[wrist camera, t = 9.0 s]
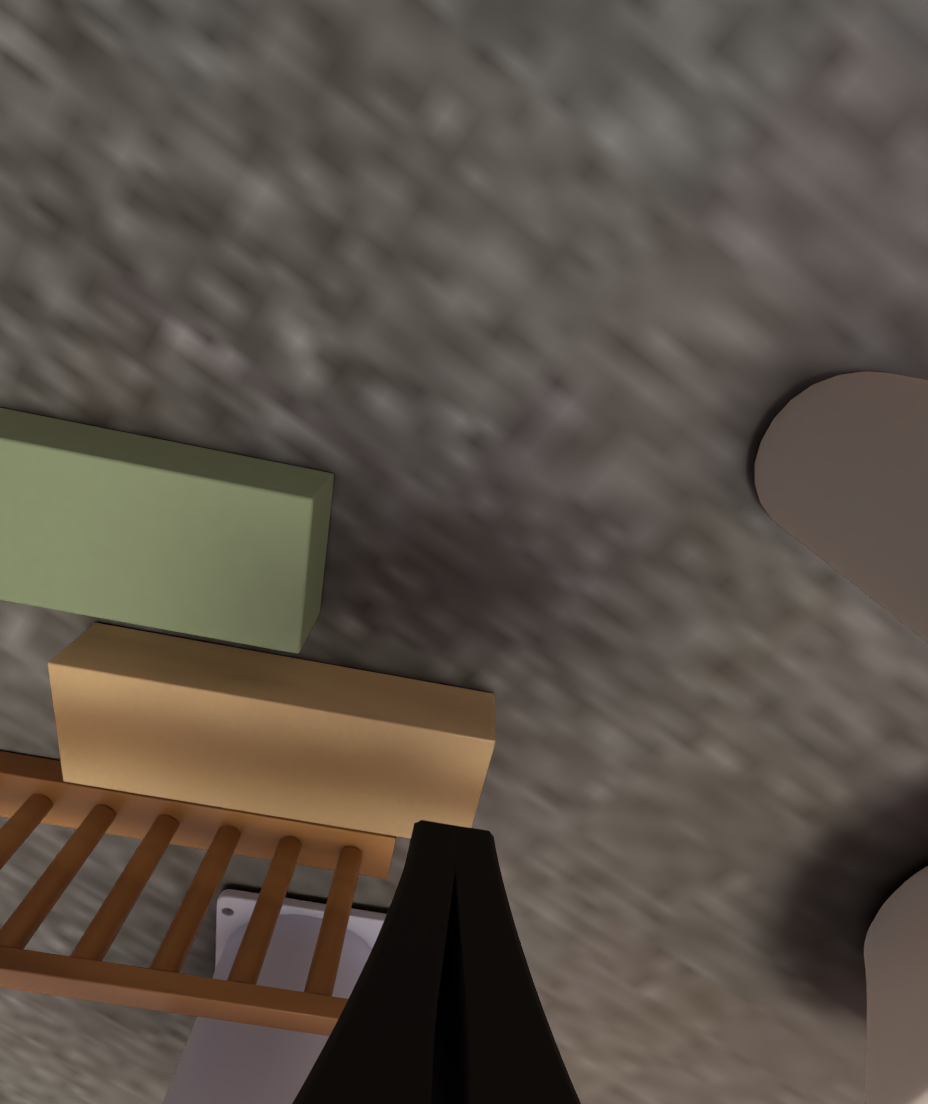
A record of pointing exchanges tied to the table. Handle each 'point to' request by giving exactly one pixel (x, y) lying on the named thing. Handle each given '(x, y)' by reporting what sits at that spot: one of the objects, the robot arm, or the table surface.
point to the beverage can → (856, 484)
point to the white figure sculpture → (898, 997)
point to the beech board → (268, 732)
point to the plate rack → (43, 797)
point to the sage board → (160, 532)
